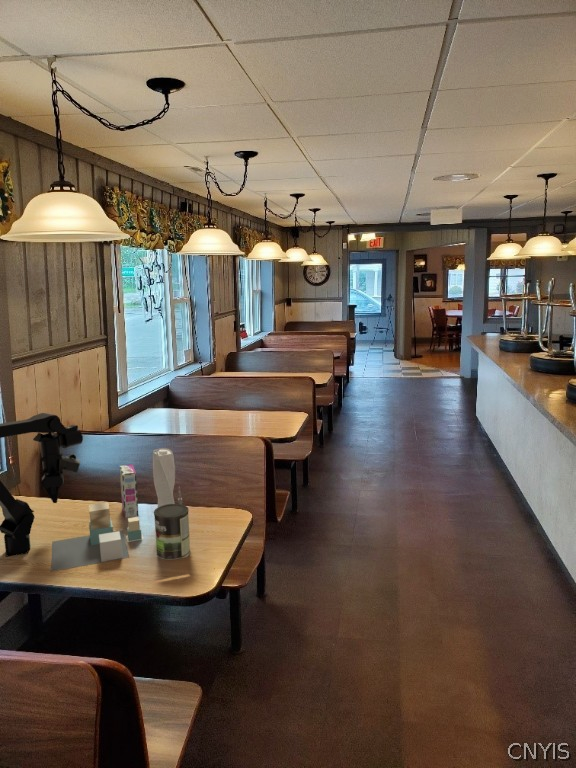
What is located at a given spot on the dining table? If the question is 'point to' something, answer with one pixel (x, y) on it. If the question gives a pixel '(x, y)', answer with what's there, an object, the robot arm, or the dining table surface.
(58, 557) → the charcoal mat
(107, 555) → the grey cube
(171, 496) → the skyscraper
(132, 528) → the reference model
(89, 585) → the dining table surface
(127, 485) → the candy bar box
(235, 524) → the dining table surface
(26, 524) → the robot arm
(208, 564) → the dining table surface
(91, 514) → the oak cube
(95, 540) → the teal block
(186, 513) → the coffee can
